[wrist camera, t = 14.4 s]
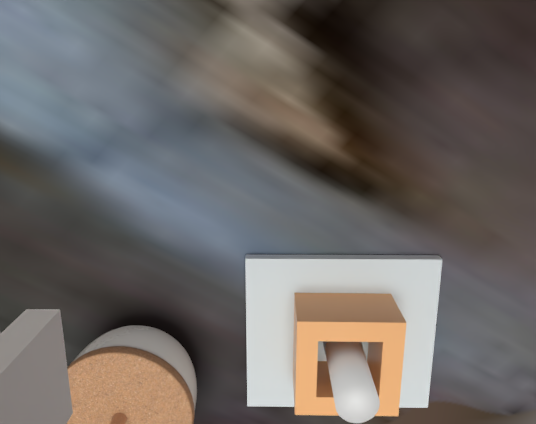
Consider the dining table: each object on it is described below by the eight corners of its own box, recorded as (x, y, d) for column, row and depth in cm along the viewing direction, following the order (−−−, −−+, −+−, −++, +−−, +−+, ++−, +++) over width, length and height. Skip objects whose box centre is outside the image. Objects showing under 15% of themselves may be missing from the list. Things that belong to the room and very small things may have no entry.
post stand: (246, 254, 41) (237, 309, 32) (438, 255, 41) (488, 310, 31) (248, 399, 45) (240, 487, 35) (424, 400, 45) (465, 489, 35)
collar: (294, 292, 41) (297, 321, 36) (391, 293, 41) (406, 322, 36) (292, 376, 43) (294, 414, 38) (384, 378, 43) (398, 416, 38)
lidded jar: (64, 330, 43) (9, 397, 34) (174, 286, 42) (147, 344, 33) (121, 425, 46) (83, 511, 37) (226, 387, 45) (213, 466, 36)
